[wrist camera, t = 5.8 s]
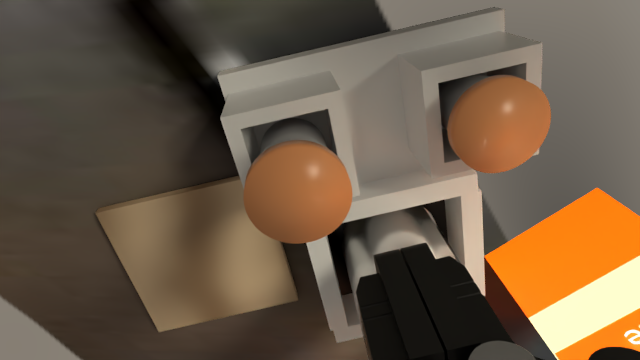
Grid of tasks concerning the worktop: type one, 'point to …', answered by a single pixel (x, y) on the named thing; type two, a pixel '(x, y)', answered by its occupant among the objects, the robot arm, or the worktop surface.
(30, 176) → the worktop surface
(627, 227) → the orange juice
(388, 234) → the silver metal cylinder
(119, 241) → the mat
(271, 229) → the plunger
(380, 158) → the housing
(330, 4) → the worktop surface
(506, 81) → the plunger
